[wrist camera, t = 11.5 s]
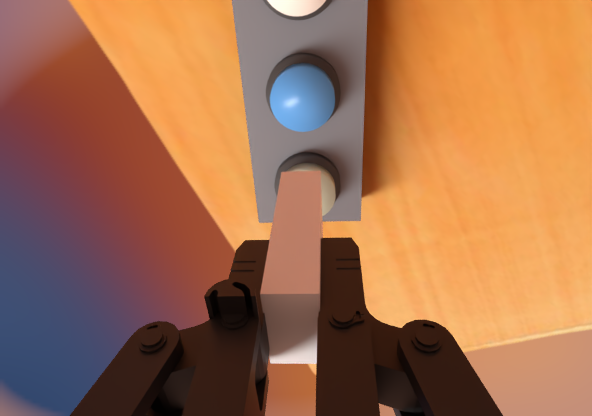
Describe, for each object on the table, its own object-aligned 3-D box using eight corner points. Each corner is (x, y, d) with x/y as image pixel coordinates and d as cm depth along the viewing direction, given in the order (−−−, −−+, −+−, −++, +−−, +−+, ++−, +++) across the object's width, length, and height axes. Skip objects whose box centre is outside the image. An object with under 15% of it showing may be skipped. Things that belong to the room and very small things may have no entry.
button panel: (365, -106, 31) (373, -113, 27) (357, 199, 45) (361, 226, 41) (230, -96, 32) (216, -102, 27) (263, 201, 45) (257, 228, 41)
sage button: (334, 162, 37) (335, 170, 36) (335, 210, 40) (335, 219, 38) (277, 163, 37) (276, 171, 36) (281, 211, 40) (280, 220, 39)
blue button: (334, 61, 32) (334, 66, 31) (334, 123, 35) (335, 130, 34) (269, 64, 33) (267, 69, 31) (274, 125, 35) (272, 132, 34)
